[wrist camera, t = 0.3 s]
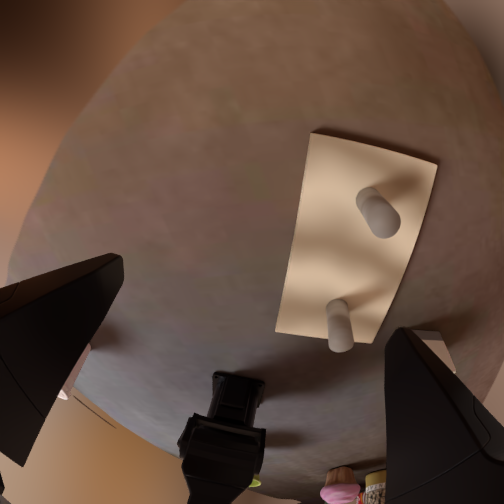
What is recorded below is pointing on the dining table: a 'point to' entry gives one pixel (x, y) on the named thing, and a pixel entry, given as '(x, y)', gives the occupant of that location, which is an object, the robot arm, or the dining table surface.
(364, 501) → the soda can
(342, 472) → the cupcake
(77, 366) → the smoothie
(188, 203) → the dining table surface
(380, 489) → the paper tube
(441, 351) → the sleeve
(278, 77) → the dining table surface
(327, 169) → the pin board
